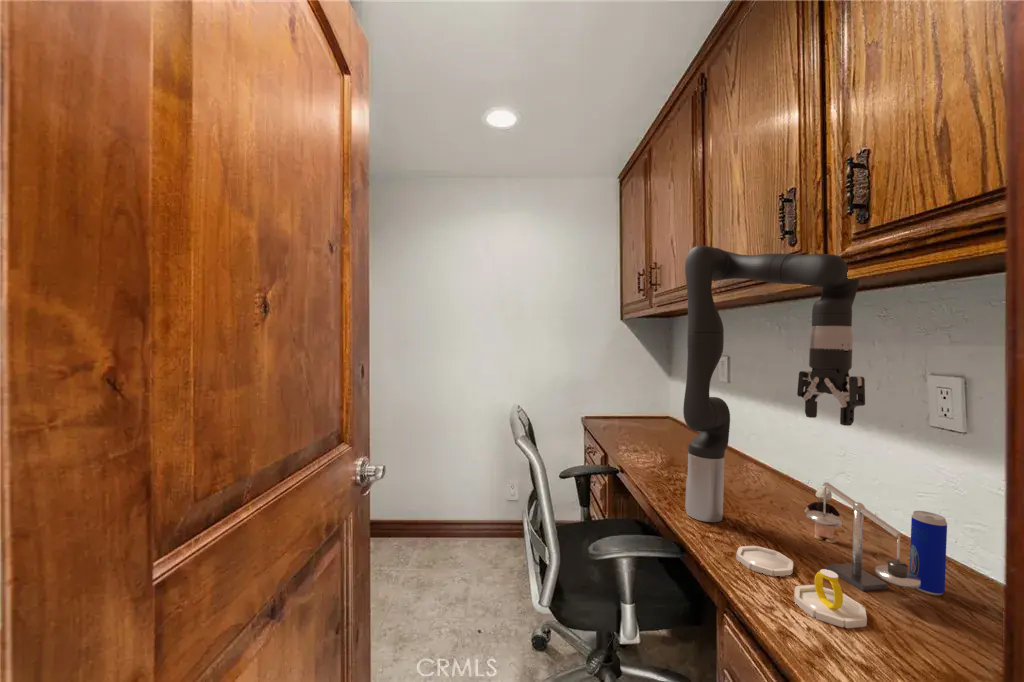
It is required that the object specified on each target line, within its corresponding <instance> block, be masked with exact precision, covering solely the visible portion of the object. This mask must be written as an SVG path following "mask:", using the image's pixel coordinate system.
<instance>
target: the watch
mask: <svg viewBox="0 0 1024 682" xmlns="http://www.w3.org/2000/svg"><path fill="white" fill-rule="evenodd" d="M824 579H825V580H828V581H829V583H830V584H831V585H830V586H831V587H832V590H833V592H834V603H833V604H832V603H831V602H830V601H829V600H828V599H827V598H826V595H825V593H824V589H823V587H824V585H823V583H824ZM814 585H815V590H816V593H817V595H818V598H819V599H820V600H821V601H822V602H823V603H824V604H825V605H826V606H827V607H828V608H829V609H840V608H841V606H842V604H843V594H844V593H843V590H842V586H841V584H840V582H839V576H838V575H837V574H836V573H835V572H833V571H830V570H827V568H822V569H820V570H819V571H818V572H816V574H815V576H814Z"/></svg>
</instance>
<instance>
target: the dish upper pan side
mask: <svg viewBox="0 0 1024 682" xmlns="http://www.w3.org/2000/svg"><path fill="white" fill-rule="evenodd" d="M735 555H736V557H735V559H736V561H738V562H739V563H740V562H741V563H740V564H741V565H743V566H744V567H746V568H747V569H748V570H750V571H753V572H755V573H759V574H762V573H763V574H762V575H765V576H766V575H767V576H769V575H770V576H769V577H774V576H780V577H786V576H785V575H791V574H792V573H793V571H794V561H793V560H792V559H790V558H789V557H787V556H786V555H784V554H782V553H781V552H779V551H777V550H775V549H770V548H767V547H763V546H760V545H759V546H758V545H742V546H739V547H738V548H737V551H736V554H735ZM792 575H793V574H792ZM792 575H791V576H792Z"/></svg>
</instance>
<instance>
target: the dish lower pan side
mask: <svg viewBox="0 0 1024 682" xmlns="http://www.w3.org/2000/svg"><path fill="white" fill-rule="evenodd" d="M823 589H824V593H825V595H826V598H827V599H828V600H829V601H830V602H831V603H832V604H833V603H834V592H833V589H831V588H827V587H824V586H823ZM793 595H794V596H793V603H794V602H795V603H794V604H795V605H796V604H797V605H798V606H799V607H798V606H797V605H796V606H797V607H798V608H800V609H801V610H802V611H804V612H805V613H806V614H807V615H809V616H810V617H812V618H815V617H816V618H815V620H817V621H821V622H824V623H827V624H830V625H832V626H833V625H834V626H835V627H839V628H842V629H844V628H846V629H854V628H865V627H867V625H868V623H867V622H868V618H867V613H866V607H864V605H863V604H860V603H859V602H857V601H856V600H854V599H853V598H851V597H850V596H848V595H847V594H845V593H843V604H842V606H841V608H840V609H829V608H828V607H827V606H826V605H825V604H824V603H823V602H822V601H821V600H820V599H819V598H818V595H817V593H816V590H815V584H804V585H796V586H794V594H793Z"/></svg>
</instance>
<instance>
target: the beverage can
mask: <svg viewBox="0 0 1024 682" xmlns="http://www.w3.org/2000/svg"><path fill="white" fill-rule="evenodd" d="M910 520H911V521H910V522H911V523H910V524H911V525H910V546H909V547H910V549H909V550H910V553H909V555H910V556H909V572H910V573H912V574H914V575H916V576H917V577H918V578H919V579H920V580H921V585H920V587H918V588H914V589H916V590H917V591H919V592H921V593H924V594H926V595H930V596H938V597H939V596H942V595H943V594H944V593H945V592H946V567H947V564H946V563H947V541H948V539H947V538H948V537H947V536H948V523H947V519H946V517H944V516H942V515H940V514H936V513H934V512H930V511H924V510H914V511H913V513H912V515H911V519H910Z"/></svg>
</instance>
